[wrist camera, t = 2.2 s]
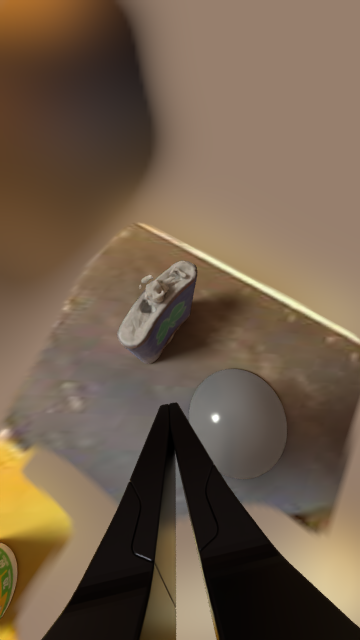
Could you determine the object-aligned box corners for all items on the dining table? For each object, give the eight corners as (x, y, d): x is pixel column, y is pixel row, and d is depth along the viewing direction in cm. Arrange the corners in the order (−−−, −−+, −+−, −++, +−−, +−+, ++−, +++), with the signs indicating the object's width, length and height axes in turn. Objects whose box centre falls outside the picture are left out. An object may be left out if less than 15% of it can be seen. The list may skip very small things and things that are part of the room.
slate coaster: (304, 445, 19) (307, 447, 18) (216, 497, 17) (218, 501, 17) (250, 355, 22) (252, 354, 21) (173, 392, 21) (173, 392, 20)
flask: (151, 368, 22) (126, 348, 12) (132, 354, 22) (92, 322, 12) (195, 309, 24) (206, 251, 14) (177, 297, 25) (175, 234, 15)
